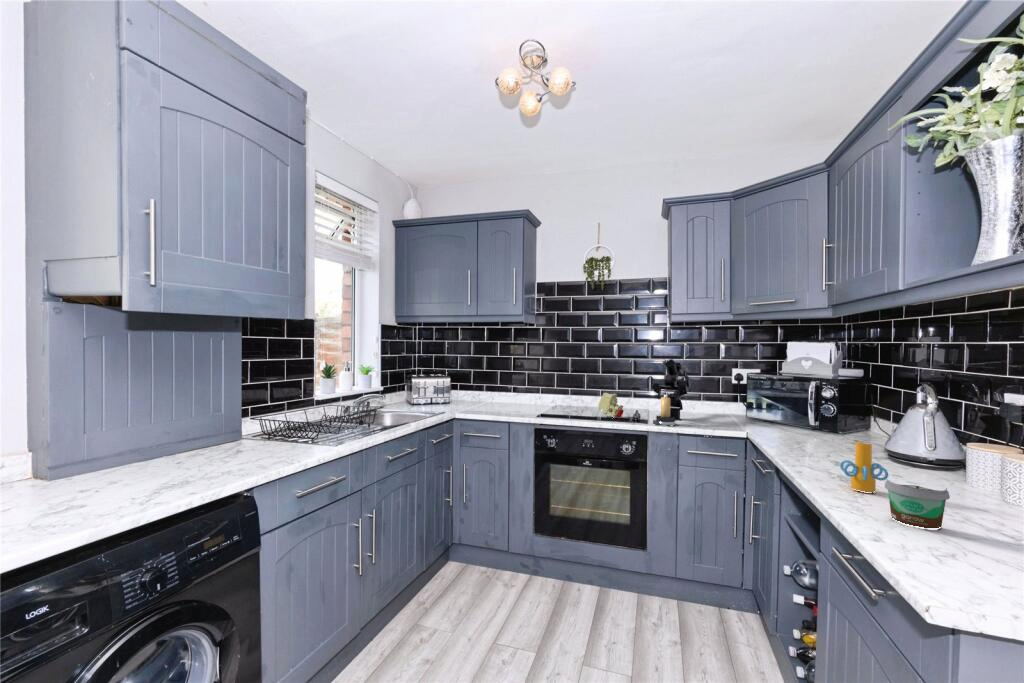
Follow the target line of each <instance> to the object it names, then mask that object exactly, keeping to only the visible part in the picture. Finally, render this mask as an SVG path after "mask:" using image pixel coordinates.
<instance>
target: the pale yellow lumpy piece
mask: <svg viewBox="0 0 1024 683" xmlns="http://www.w3.org/2000/svg"><path fill="white" fill-rule="evenodd" d="M617 396H618V394H617V393H608V392H603V393H602V396H601V398H600V400H599V403H598V405H597V406H598V410H597V412H596V415H598V414H599V412H600V410H601V413H602V414H603V415H607V414H608V415H610V416H611V417H613V418H614V417H615V418H617V419H620V418H621V417H622V416H623V414H624V409H623V408H624V405H622V404H620V405H619V404H618V397H617ZM619 417H620V418H619ZM613 418H612V419H613ZM615 418H614V419H615Z"/></svg>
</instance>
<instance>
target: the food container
mask: <svg viewBox="0 0 1024 683" xmlns="http://www.w3.org/2000/svg"><path fill="white" fill-rule="evenodd" d="M883 487H884V488H885V489H886V490H887V491H888V500H889V501H888V502H889V509H890V517H891V516H892V518H894V519H895V520H897V521H900V522H902V523H905V524H909V525H913V526H919V527H924V528H939V527H941V526H942V527H943V520H944V513H945V507H946V502H947V500H950V499H951V497H950V493H949V492H950V491H949V490H948V488H946V489H945V490H936V489H931V488H927V487H923V486H920V485H914V484H910V485H909V484H899V483H895V482H893V481H890V480H889V479H888V478H887V479H886V480H885V483H884V486H883ZM892 518H891V519H892ZM942 527H941V528H942Z"/></svg>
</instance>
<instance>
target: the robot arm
mask: <svg viewBox="0 0 1024 683" xmlns="http://www.w3.org/2000/svg"><path fill="white" fill-rule="evenodd" d="M664 367H665V370H666V373H667V374H664V375H663V384H664V385H661V383H660V382H653V383H652V385H651V387H652V389H653V392H654V393H655V394H657V398H658V400H661V397H662V390H667V391H673V393H668V394H667V395H668V398H670V416H671V417H675V421H681V420H680V419H681V411H683V408H684V407H683V402H682V399H681V398H682V396H685V395H687V394H688V391H689V389H690V388H691V380H690V377H689V376H688V374H687V371H686V370H684V369H683V364H682V363H681V362H680V361H679V362H677V361H674V359H671V358H670V359H669V360H667V361H665V363H664ZM679 377H680V378H681V377H683V378H684V379H678V378H679Z"/></svg>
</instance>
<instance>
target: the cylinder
mask: <svg viewBox="0 0 1024 683" xmlns="http://www.w3.org/2000/svg"><path fill="white" fill-rule="evenodd" d="M854 444H855V446H854V447H855V448H854V462H853V461H851V460H849V459H844V460H842V461H841V462H840V463H839V468H840V470H841V471H842V472H844V474H845V475H846V476H847V477H850V489H851V488H853V489H856V490H860V491H865V492H874V491H875V490H876V485H877V482H876V480H878V481H887V479H888V478H889V472H888V469H886V468H885V467H883V466H882V465H881V464H880V463H876V462H875V463H873V462H872V461H873V454H872V453H873V444H872V442H867V441H859V440H857V441H855V443H854ZM845 463H847V464H845ZM844 464H845V465H844ZM849 467H852V469H851V470H850V471H849V470H848V468H849ZM877 469H878V470H879V471H878V473H876V474H875V470H877ZM883 473H884V476H883V477H880V476H881V475H882V474H883ZM875 492H876V491H875Z"/></svg>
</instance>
